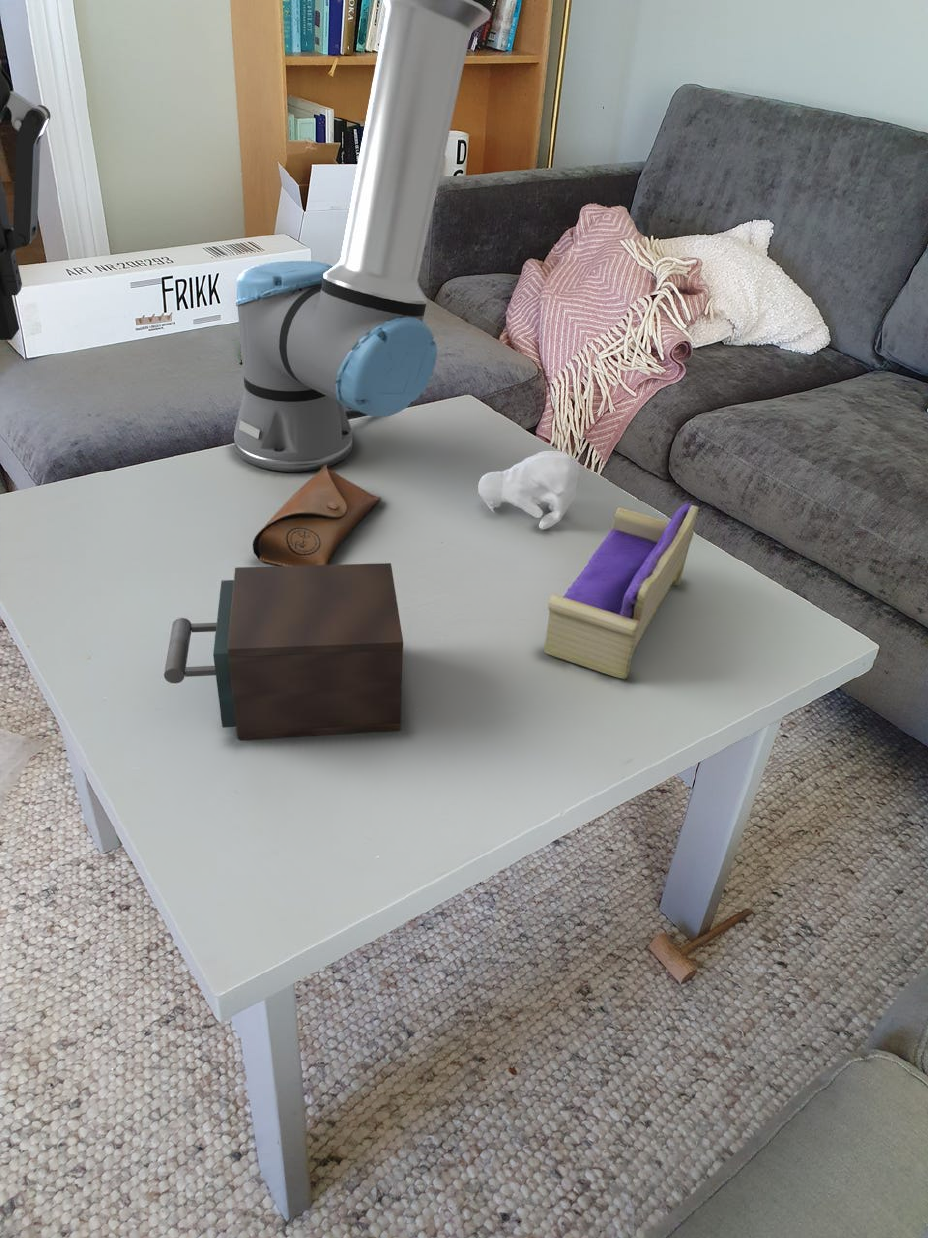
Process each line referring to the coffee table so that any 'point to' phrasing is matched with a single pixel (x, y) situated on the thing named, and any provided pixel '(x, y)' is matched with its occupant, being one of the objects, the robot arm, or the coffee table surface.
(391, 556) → the coffee table surface
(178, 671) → the drawer
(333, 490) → the sunglasses case
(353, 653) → the cabinet
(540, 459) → the white figurine
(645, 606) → the toy sofa
